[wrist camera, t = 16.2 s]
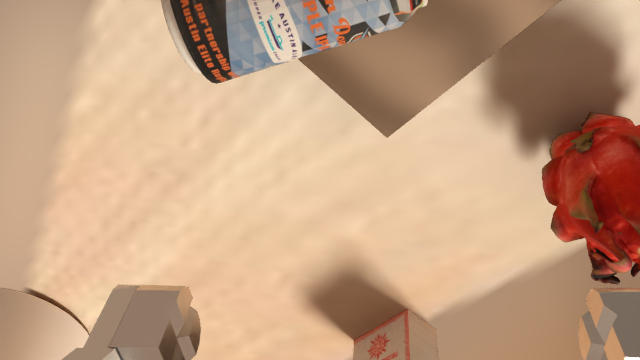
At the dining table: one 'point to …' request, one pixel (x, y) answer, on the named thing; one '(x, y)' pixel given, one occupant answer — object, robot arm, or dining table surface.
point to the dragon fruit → (598, 192)
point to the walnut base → (420, 56)
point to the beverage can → (272, 30)
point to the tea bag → (398, 340)
